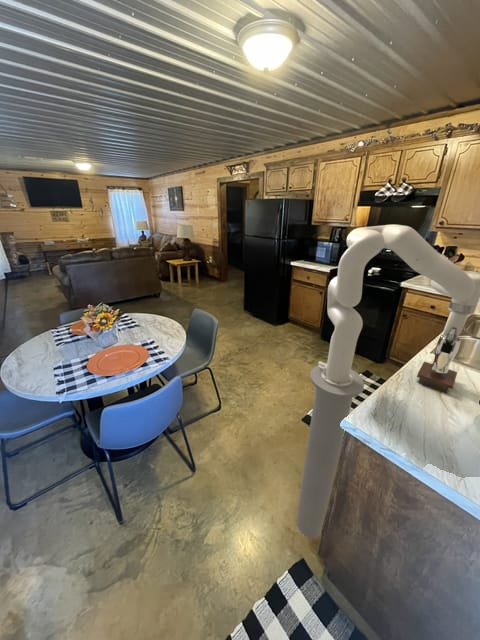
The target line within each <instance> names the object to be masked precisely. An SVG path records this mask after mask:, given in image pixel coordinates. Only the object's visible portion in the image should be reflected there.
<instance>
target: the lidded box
mask: <svg viewBox="0 0 480 640" xmlns="http://www.w3.org/2000/svg"><path fill="white" fill-rule="evenodd" d="M431 365H432V363H430V362H427V361H423V363H422V365H421V366H420V369H419V370H418V373H417V375H416V377H417V378H418V381H417V383H418V384H421V385H424V386H426V387H428V388H431V389H434V390H437V391H440V392H442V393H444V394H448V392H449V389H450V390H453V388H454V385H455V382H456V379H457V374H458V372H457V371H456V370H453V369H449V370H448V373H447V374H441V373H437V372H435V371H433V370H432V369H431V368H430V366H431Z"/></svg>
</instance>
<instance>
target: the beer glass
mask: <svg viewBox="0 0 480 640" xmlns="http://www.w3.org/2000/svg"><path fill="white" fill-rule="evenodd" d="M446 336H447V335H443V333H442V334H440V336H439V338H438V340H437V343H436V345H435V352H434V357H433V361H432V363H431V364H432V365H431V366H430V368H431V369H432V370H433V371H435V372H437V373H441V374H447V373H448V370H450V365H451V363H452V362H453V360H454V359H455V357H456V356H457V354H458V352H459V349H460V346H461V343H462V338H460V337H458V338H455V340H454V343H453V348H452V350H451V353H450V354H448V353H444V352H441V351H440V350H441V347H442V345H443V342H444V341H445V339H446ZM448 336H449V334H448ZM453 337H455V336H453ZM447 339H448V338H447ZM452 340H453V338H452Z"/></svg>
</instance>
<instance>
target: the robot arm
mask: <svg viewBox="0 0 480 640" xmlns="http://www.w3.org/2000/svg"><path fill="white" fill-rule="evenodd" d="M346 246H347V249H346V250H345V251H344V252H343V254H342V255H341V257H340V259H339V262H338V265H337V266H338V267H337V275H336V276H334V277H333V278H332V279H331V280H330V281H329V284H328V288H327V303H326V305H327V306H326V307H327V308H326V309H327V310H326V311H327V316H328V318H329V319H330V321H331V322H332V324H333V326H334V330H333V332H332V335H331V338H330V343H329V347H328V348H329V349H328V356H327V362H323V361H321V360H319V361H318V362H317V366H318V365H319V366H318V368H319V369H322V370H323V371H322V374H321V376H322V379H323V380H324V381H325V382H326V383H328V384H330V385H332V386H336V387H347V386H350V385H351V384H352V382H353V378H352V376H351V375H350V372H351V370H352V366H353V363H354V357H355V352H356V347H357V343H358V339H359V336H360V334H361V331H362V329H363V326H364V325H363V324H364V321H363V318H362V316H361V315H360V313H359V312H358V311H357V310H356V309H355V308H354V307H356V306H358V305H359V304H360V302H361V300H362V297H363V296H362V295H363V283H364V281H363V280H364V272H365V268H366V266H367V264H368V263H369V262H370V260H372V259H373V258H374V257H375V256H377V255H379V253H380V252H382V250H383V249H387V250H391V251H392V252H394V253H395V255H397V256H398V257H399V258H400V259H401V260H403V261H404V262H405V263H406V264H407V265H408V266H409V267H410V268H411V269H412V270H413V271H415V272H416V273H418V274H419V275H421V276H423V277H426V278H428V279H429V280H430V286H431V288H432V289H433V290H435V291H436V292H437V293H439V294H442V295H444V296H446V297H449V298H451V300H450V302H449V306H448V311H450V312H449V315H448V317H447V320H446V323H445V325H444V329H443V331H442V334H443V335H447V336H446V339H445V341H444V342H443V345H442V347H441V350H440V351H441V352H444V353H448V354H450V353H451V350H452V348H453V343H454V340H455V338H460V335H461V333H462V331H463V329H464V327H465V324H466V322H467V320H468V318H469V316H471V315H474V314H475V312H476V308H477V306H478V304H479V301H480V274H477V273H466V271H464V269H462V268H461V267H459V265H457V264H455V263H454V262H453V261H451V260H450V259H448V258H447V257H445V256H444V255H443V254H441V253H440V252H439V251H437V250H436V249H435V248H434V247H433V246H432V245H431V244H430V243H429V242H428V241H427V240H425V238H424V237H423V236H422V235H421V234H420V233H419V232H418V231H416V229H414V228H413V227H411V226H408V225H404V224H403V225H402V224H385V225H384V224H383V225H375V226H374V225H373V226H372V225H371V226H364V227H357V228H354V229H353V230H351V231H350V232H349V233H348V235H347V237H346ZM448 334H449V336H448ZM453 336H455V337H453ZM447 338H448V339H447ZM452 338H453V340H452Z"/></svg>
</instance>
